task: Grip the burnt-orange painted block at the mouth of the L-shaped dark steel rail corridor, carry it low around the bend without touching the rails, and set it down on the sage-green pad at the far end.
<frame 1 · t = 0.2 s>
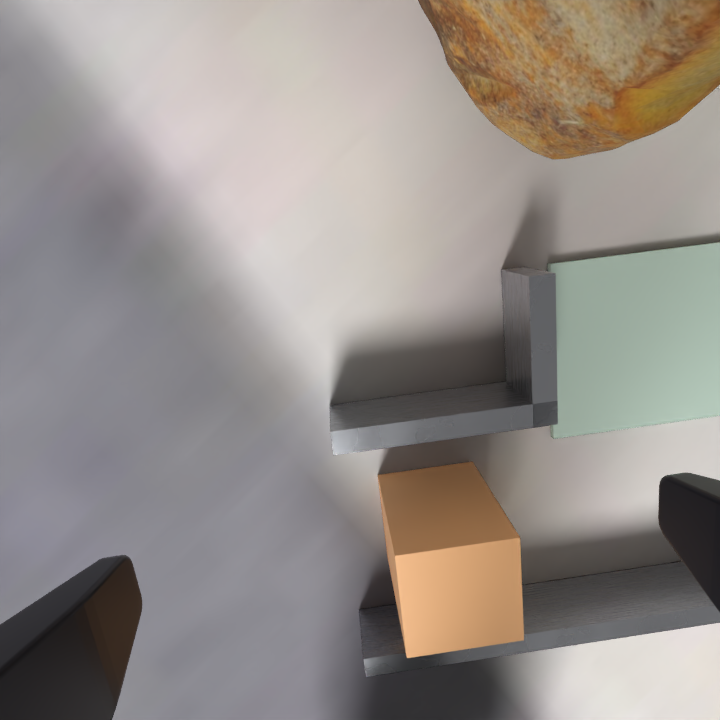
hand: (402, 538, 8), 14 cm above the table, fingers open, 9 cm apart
orange block: (428, 510, 24), on the table
steel rail course: (632, 481, 24), on the table
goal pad: (636, 342, 23), on the table
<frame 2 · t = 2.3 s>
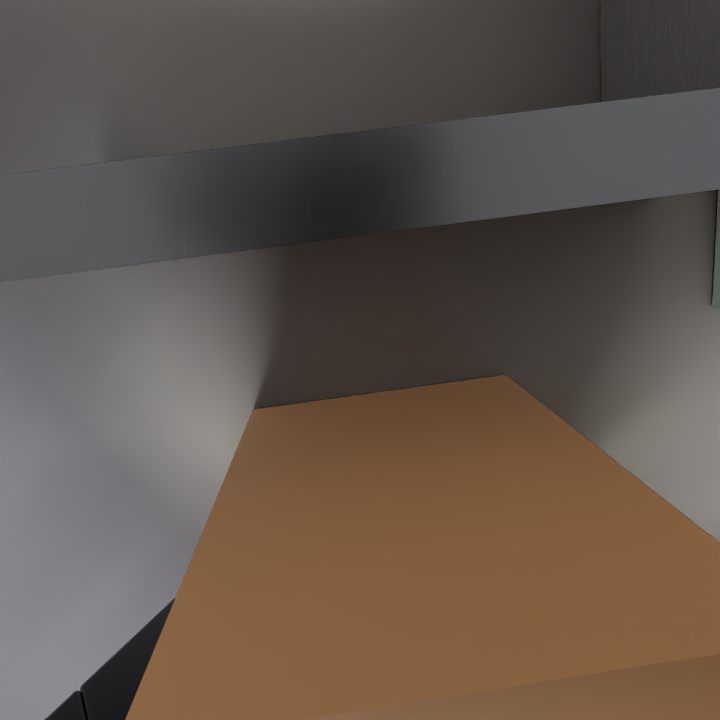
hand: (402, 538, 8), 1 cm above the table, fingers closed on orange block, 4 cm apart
orange block: (393, 505, 9), on the table, touching gripper
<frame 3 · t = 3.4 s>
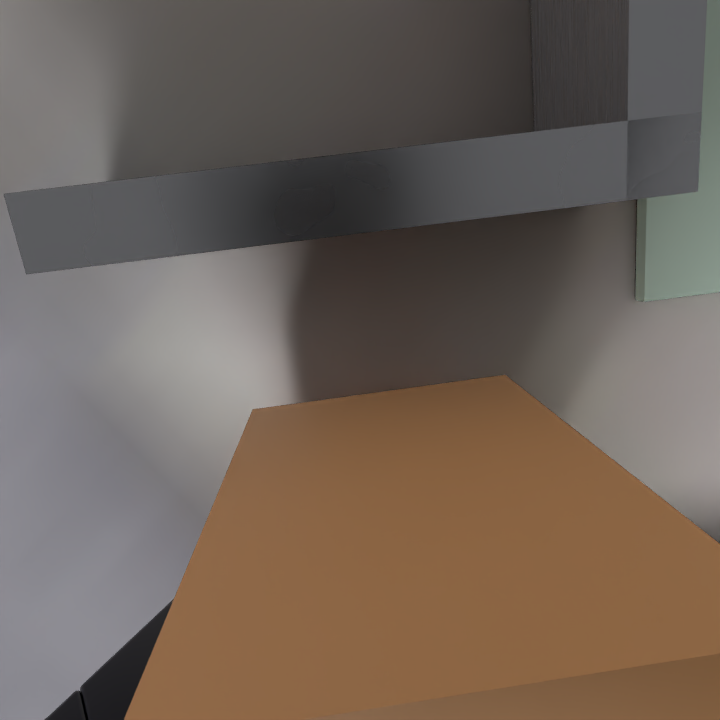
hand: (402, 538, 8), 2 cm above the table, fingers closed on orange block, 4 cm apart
orange block: (393, 505, 9), point 1 cm above the table, touching gripper
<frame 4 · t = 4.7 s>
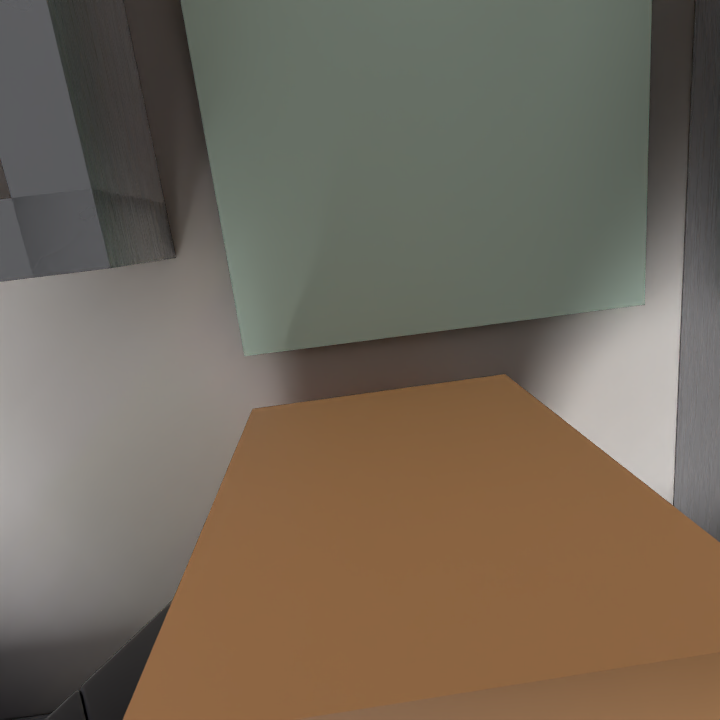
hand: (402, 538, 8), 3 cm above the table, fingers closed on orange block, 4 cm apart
orange block: (393, 504, 9), point 1 cm above the table, touching gripper
steel rail course: (454, 462, 11), on the table
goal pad: (427, 113, 9), on the table
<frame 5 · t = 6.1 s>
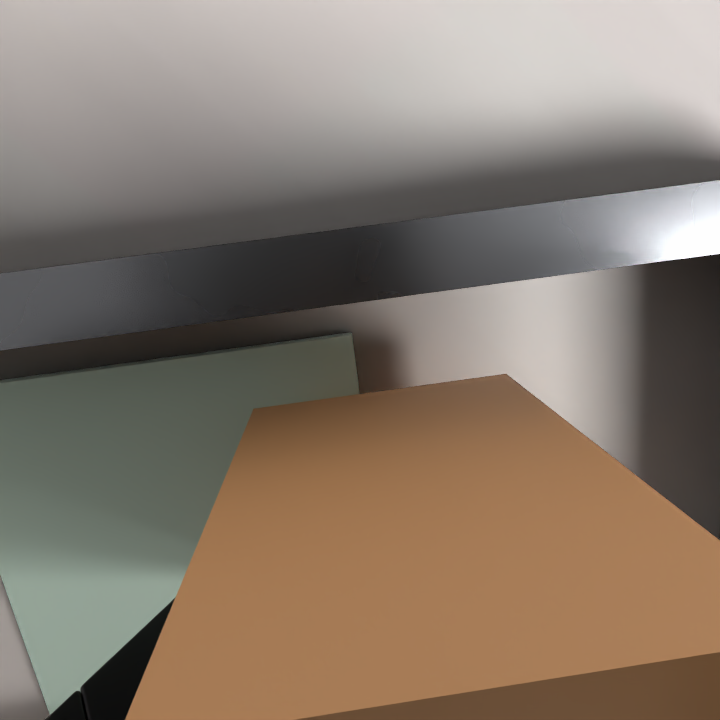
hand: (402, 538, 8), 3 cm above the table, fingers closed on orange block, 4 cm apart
orange block: (394, 504, 9), point 2 cm above the table, touching gripper
steel rail course: (507, 489, 11), on the table
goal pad: (193, 535, 11), on the table
when the fingers open (2 cm above the table, at t = 7.1 s): orange block drops 1 cm, resting on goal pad.
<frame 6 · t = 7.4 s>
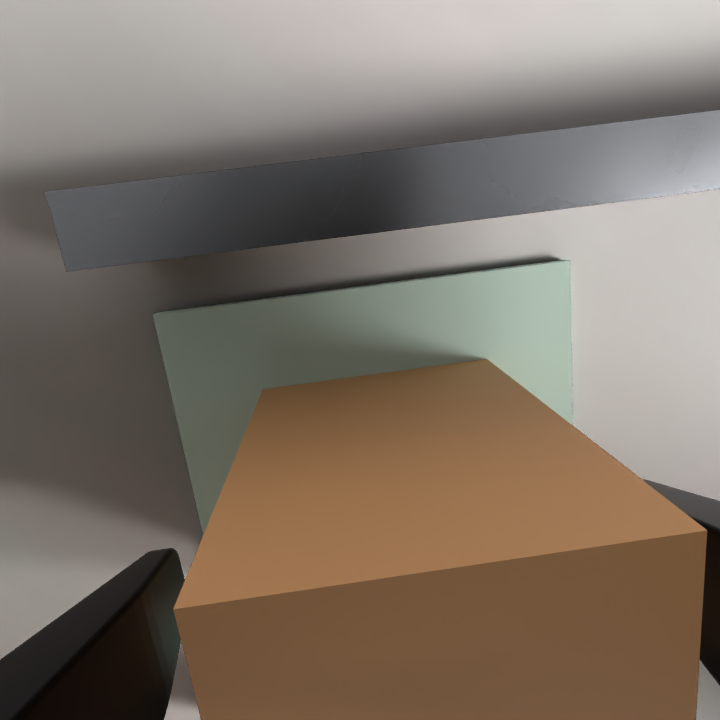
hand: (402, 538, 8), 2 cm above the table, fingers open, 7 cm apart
orange block: (387, 476, 11), resting on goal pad
steel rail course: (699, 426, 11), on the table
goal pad: (385, 470, 11), on the table
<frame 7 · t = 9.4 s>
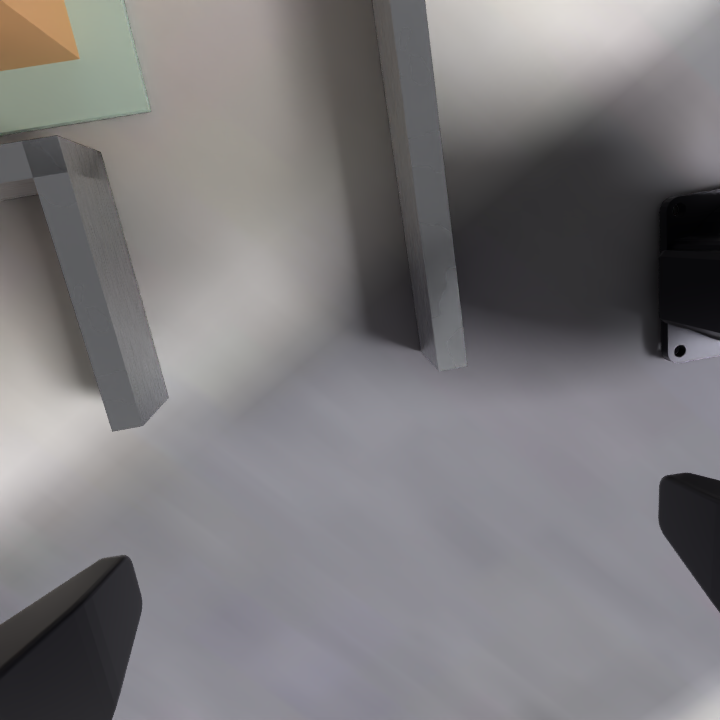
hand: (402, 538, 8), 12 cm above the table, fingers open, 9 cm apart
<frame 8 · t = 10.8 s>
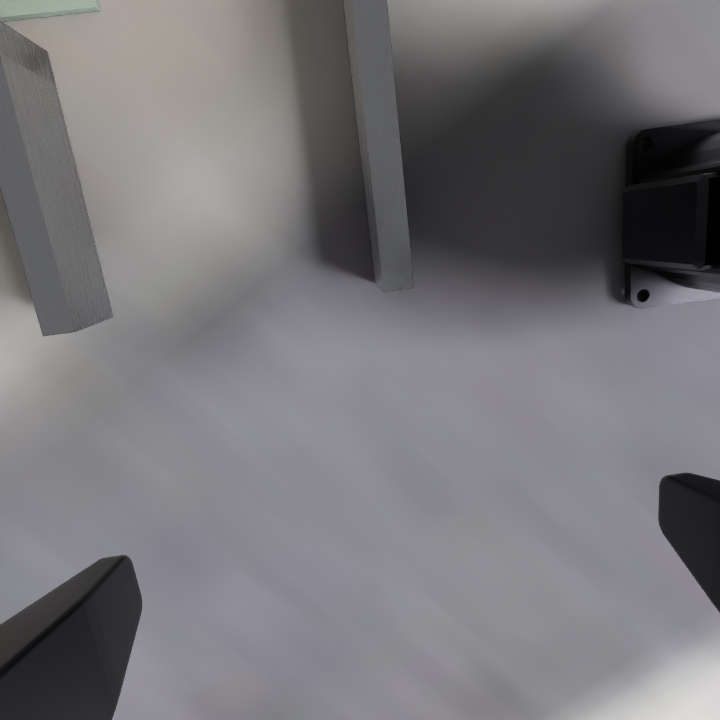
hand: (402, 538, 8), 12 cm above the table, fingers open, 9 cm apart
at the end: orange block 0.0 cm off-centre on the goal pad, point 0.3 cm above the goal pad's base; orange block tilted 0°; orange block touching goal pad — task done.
